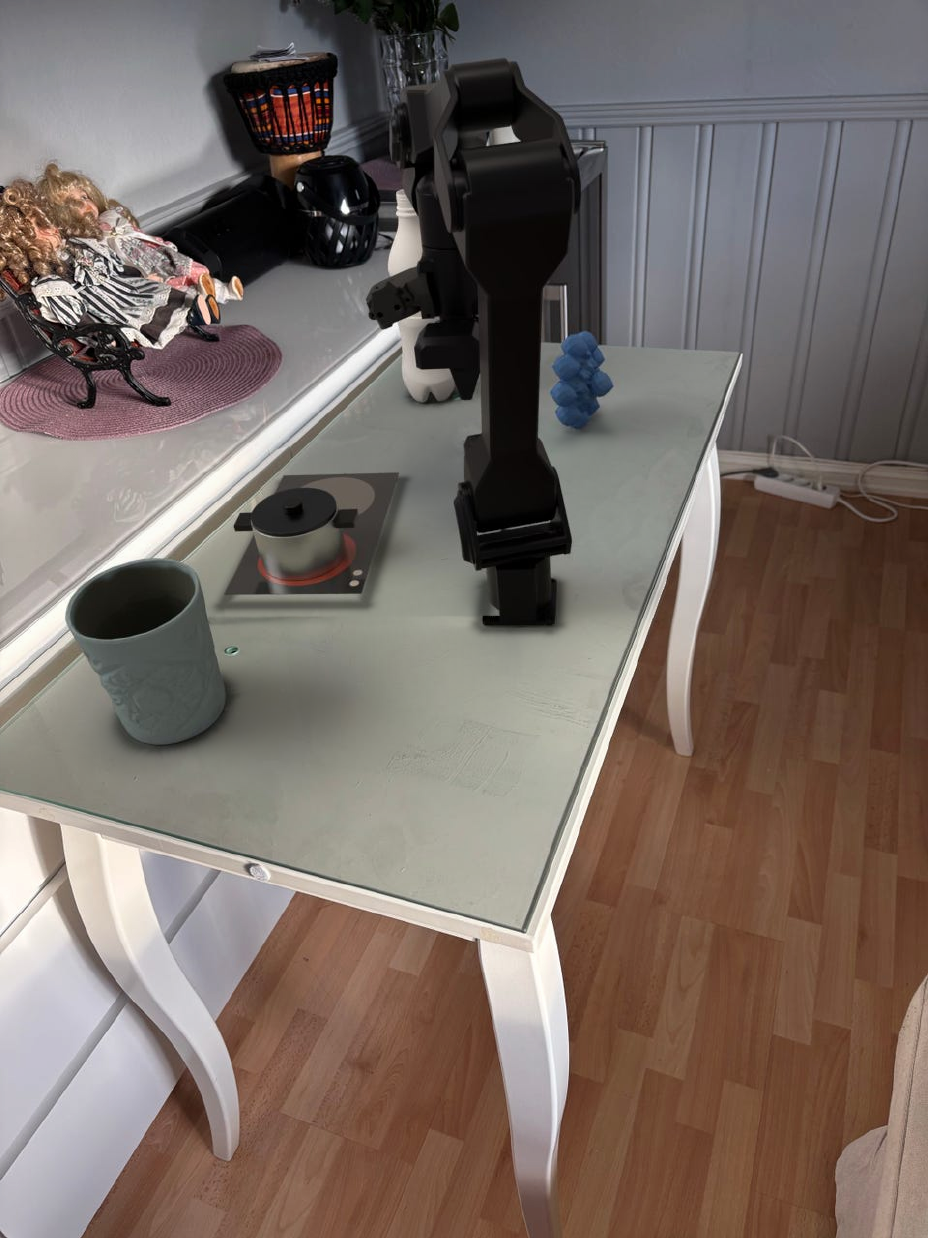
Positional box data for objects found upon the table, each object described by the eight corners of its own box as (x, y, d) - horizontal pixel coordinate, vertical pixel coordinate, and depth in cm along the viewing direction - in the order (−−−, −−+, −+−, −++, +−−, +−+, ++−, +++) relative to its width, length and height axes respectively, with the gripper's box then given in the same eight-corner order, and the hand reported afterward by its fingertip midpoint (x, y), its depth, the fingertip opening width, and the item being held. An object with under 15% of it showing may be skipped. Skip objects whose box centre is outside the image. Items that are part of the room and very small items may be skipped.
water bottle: (399, 389, 122) (371, 189, 106) (450, 378, 123) (430, 179, 108) (413, 411, 116) (385, 203, 101) (466, 399, 118) (447, 192, 102)
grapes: (594, 456, 103) (594, 355, 96) (539, 446, 106) (536, 347, 99) (630, 412, 111) (633, 315, 104) (578, 404, 114) (577, 309, 106)
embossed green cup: (181, 655, 82) (140, 544, 74) (262, 692, 77) (227, 578, 69) (90, 726, 75) (35, 613, 68) (173, 772, 71) (123, 655, 63)
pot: (355, 579, 86) (344, 524, 83) (235, 582, 88) (219, 528, 84) (369, 530, 93) (360, 477, 89) (257, 534, 94) (243, 481, 90)
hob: (365, 605, 85) (363, 595, 84) (222, 606, 87) (219, 596, 86) (403, 480, 103) (402, 470, 102) (284, 482, 105) (281, 473, 104)
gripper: (383, 215, 91) (403, 364, 101) (345, 279, 77) (373, 445, 86) (494, 208, 90) (503, 360, 99) (476, 272, 75) (489, 441, 85)
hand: (466, 398), depth 93 cm, fingers closed
